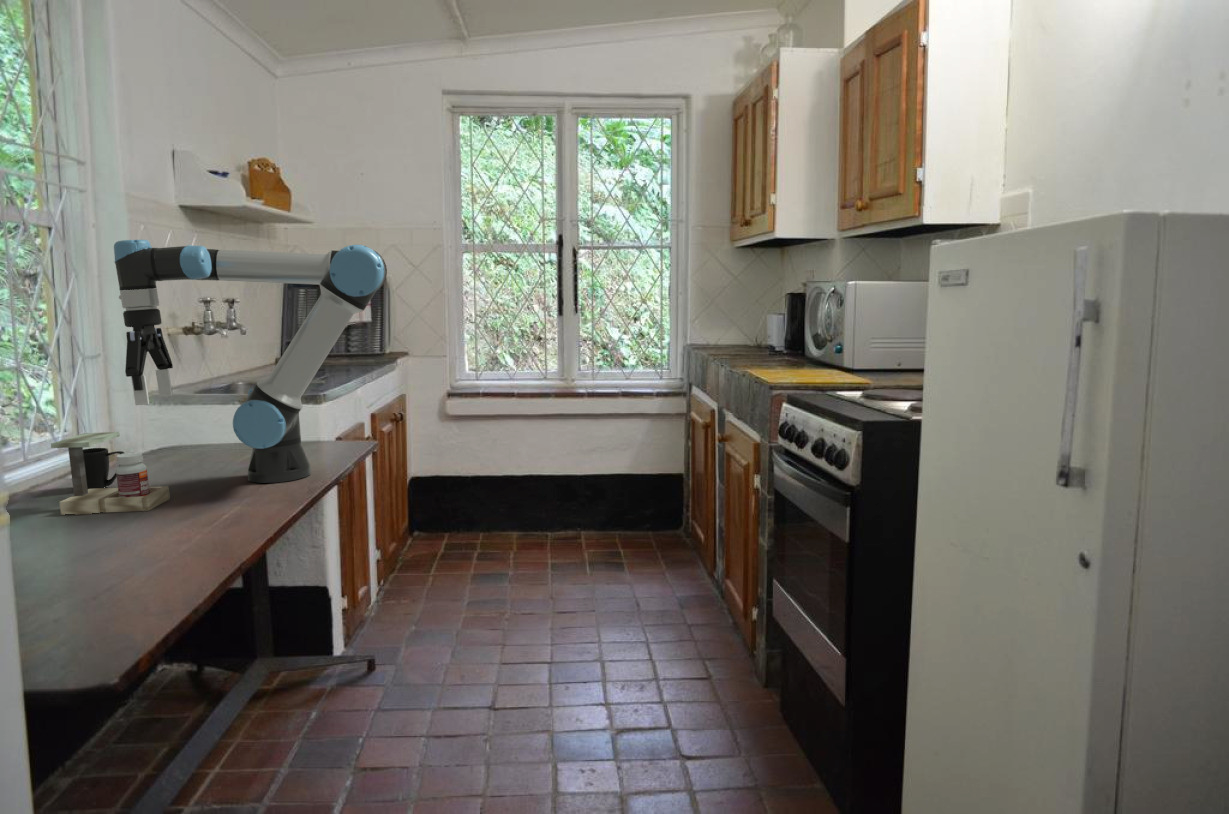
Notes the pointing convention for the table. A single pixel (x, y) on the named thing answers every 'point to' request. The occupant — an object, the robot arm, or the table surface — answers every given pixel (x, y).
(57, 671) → the table surface
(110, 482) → the mug
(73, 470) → the socket block
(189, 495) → the table surface
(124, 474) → the pill bottle
